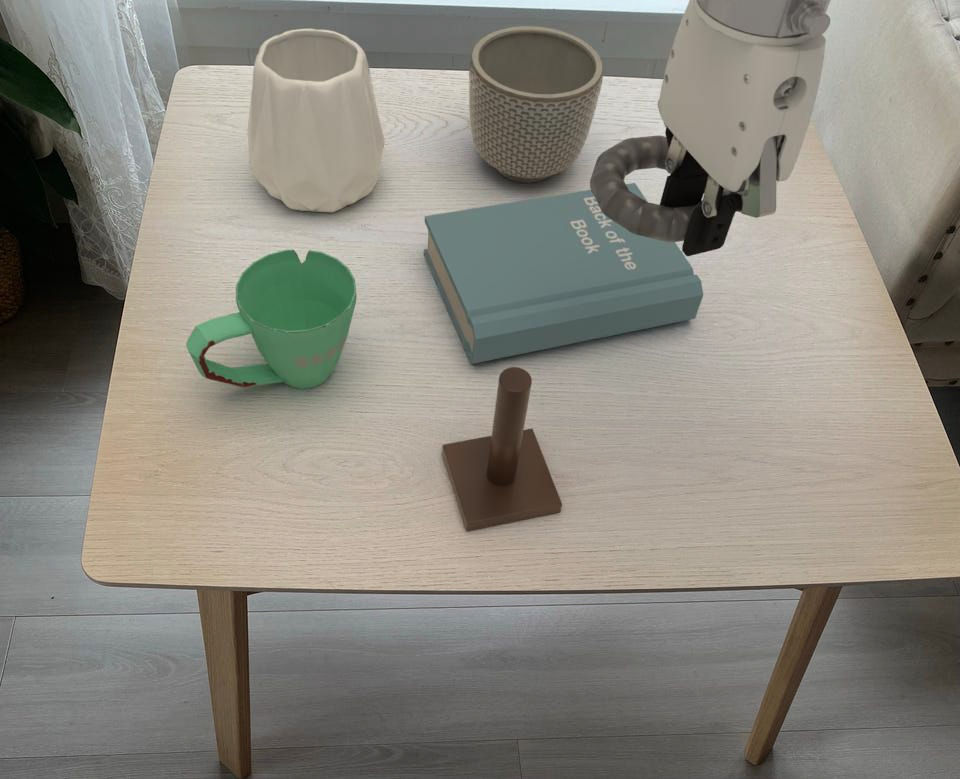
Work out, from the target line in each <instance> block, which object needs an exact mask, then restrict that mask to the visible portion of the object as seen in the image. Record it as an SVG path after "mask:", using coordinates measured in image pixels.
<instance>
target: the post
mask: <svg viewBox="0 0 960 779" xmlns="http://www.w3.org/2000/svg"><path fill="white" fill-rule="evenodd" d="M532 384H533V379H532V376H531V374H530V373H529V372H528V371H527V370H525V369H524V368H521V367H518V366H512V367H511V366H510V367H507V368H505V369H504V370H502V371H501V372H500V374H499V376H498V384H497V392H496V397H495V399H496V400H495V405H494V406H495V408H494V414H493V421H492V422H493V423H492V429H491V435H488V436H483V437H477V438H471V439H465V440H461V441H456V442H451V443H450V442H449V443H445V444H442V446H441V455H442V458H443V460H444V464H445V467H446V471H447V473H448V477H449V480H450V483H451V487H452V490H453V493H454V496H455V500H456V502H457V506H458V508H459V513H460V515H461V519H462V522H463V525H464V529H465V531H466V532H470V531H471V532H472V531H475V530H480V529H485V528H490V527H495V526H500V525H505V524H509V523H514V522H519V521H524V520H529V519H533V518H538V517H544V516H548V515H553V514H559V513H561V511H562V507H563V503H562V500H561V497H560V495H559V493H558V489H557V487H556V485H555V482H554V480H553V477H552V474H551V472H550V468H549V466H548V464H547V462H546V459H545V456H544V455H543V452H542V449H541V447H540V444H539V441H538V439H537V437H536V434H535V432H534V428H533V427H532V428H527V429H525V425H526V418H527V412H528V406H529V402H530V395H531V389H532Z"/></svg>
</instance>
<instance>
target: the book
mask: <svg viewBox="0 0 960 779" xmlns="http://www.w3.org/2000/svg"><path fill="white" fill-rule="evenodd" d="M625 184H626V186H627V187H628V189H629V191H631V192H632V193H634V194H636V195H637V196H639V197H640V198H642V199H643V200H645V201H646V202H649V201H648V200H647V198H646V197H645V195H644V194H643V192H642V191H641V189H640V188H639V187H638V185H637V184H636V182H632V183H625ZM424 224H425V226H426V228H427V230H428V232H427V248H424V249H423V257H424V259H425V262H426V264H427V266H428V268H429V271H430V273H431V275H432V278H433V280H434V283H435V285H436V287H437V290H438V292H439V294H440V296H441V299H442V301H443V304H444V306H445V308H446V311H447V313H448V315H449V318H450V320H451V322H452V325H453V328H454V329H455V333H456V334H457V336H458V339H459V341H460V344H461V345H462V348H463V350H465V355H466V358H467V360H468V362H469V363H470V364H474V365H475V364H479V363H483V362H487V361H493V360H498V359H502V358H508V357H512V356H518V355H523V354H528V353H532V352H537V351H542V350H547V349H552V348H556V347H561V346H567V345H571V344H572V345H573V344H577V343H581V342H587V341H591V340H592V341H593V340H596V339H601V338H606V337H607V338H608V337H610V336H616V335H622V334H626V333H631V332H635V331H641V330H645V329H646V330H647V329H650V328H651V329H652V328H655V327H661V326H664V325H670V324H676V323H680V322H685V321H690V320H695V319H696V318H697V315H698V311H699V310H700V306H701V303H702V300H703V298H704V289H703V283H702V280H701V278H700V277H699V275H698V274H694V268H693V266H692V265H691V263H690V262H689V260H688V259H687V258H686V255H685V254H684V252H683V251H682V249H680V247H679V246H678V244H677V242H665V241H661V240H657V239H652V238H648V237H644V236H640V235H636V234H633V233H631V232H629V231H628V230H626V229H625V228H623V227H622V226H620V225H619V224H617V223H616V222H614V221H613V220H611V219H610V218H608V217H607V216H606V215H604V213H603V212H602V211H601V209H600V207H599V205H598V203H597V201H596V199H595V197H594V195H593V193H592V191H591V189H587V190H581V191H575V192H569V193H568V192H567V193H562V194H556V195H550V196H544V197H537V198H530V199H524V200H518V201H511V202H506V203H499V204H493V205H486V206H480V207H474V208H467V209H462V210H456V211H448V212H442V213H436V214H430V215H425V216H424Z"/></svg>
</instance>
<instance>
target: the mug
mask: <svg viewBox="0 0 960 779" xmlns="http://www.w3.org/2000/svg"><path fill="white" fill-rule="evenodd" d="M357 297H358V296H357V285H356V279H355V276H354V275H353V273H352V271H351V270H350V268H349V267H348V266H347V265H345V264H344V263H343V262H342V261H340V260H339V259H338V258H336V257H334V256H332V255H330V254H327V253H325V252H323V251H318V250H311V249H309V250H308V252H307V253H306V256H305V260H304V261H303V262H302V261H301V260H300V258H299V255H298V253H297V252H296V251H295V250H294V249H284V250H280V251H276V252H272V253H269V254H267V255H264V256H262V257H260V258H259V259H257V260H255V261H252V263H251V264H250V265H249V266H248V267H247V268H246V269H245V270H243V272H242V273H241V275H240V277H239V278H238V281H237V283H236V285H235V304H236V307H237V309H238V312H235V313H231V314H227V315H223V316H219V317H215V318H212V319H209V320H207V321H205V322H202V323H199V324H197V325H195V326H194V327H193V330H192V331H191V333H190V335H189V336H188V338H187V340H186V345H185V346H186V349H187V351H188V353H189V355H190V357H191V359H192V361H193V363H194V366H196V369H197V371H198V373H199V374H200V375H201V377H203V378H205V379H207V380H211V381H215V382H218V383H223V384H226V385H229V386H234V387H238V388H249V387H255V386H256V387H257V386H263V385H269V384H278V383H284V384H285V385H287V386H288V387H291V388H293V389H300V390H309V389H313V388H317V387H319V386H321V385H322V384H324V383H325V382H326V381H327V380H328V379H329V378H330V376H331V374H332V373H333V371H334V369H335V368H336V365H337V364H338V361H339V360H340V357H341V354H342V353H343V349H344V347H345V344H346V341H347V338H348V336H349V331H350V327H351V324H352V319H353V315H354V311H355V307H356V303H357ZM248 335H251V337H252V339H253V341H254V343H255V345H256V348H257V350H258V352H259V353H260V355H261V356H262V358H263V359H264V361H265V362H266V363H258V364H251V365H243V366H235V367H230V366H227V365H224V364H221V363H218V362H215V361H213V360H210V359H207V358H206V354H207V352H208V350H209V349H210V348H212V347H213V346H215V345H217V344H220V343H222V342H224V341H227V340H230V339H234V338H240V337H243V336H248Z"/></svg>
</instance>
